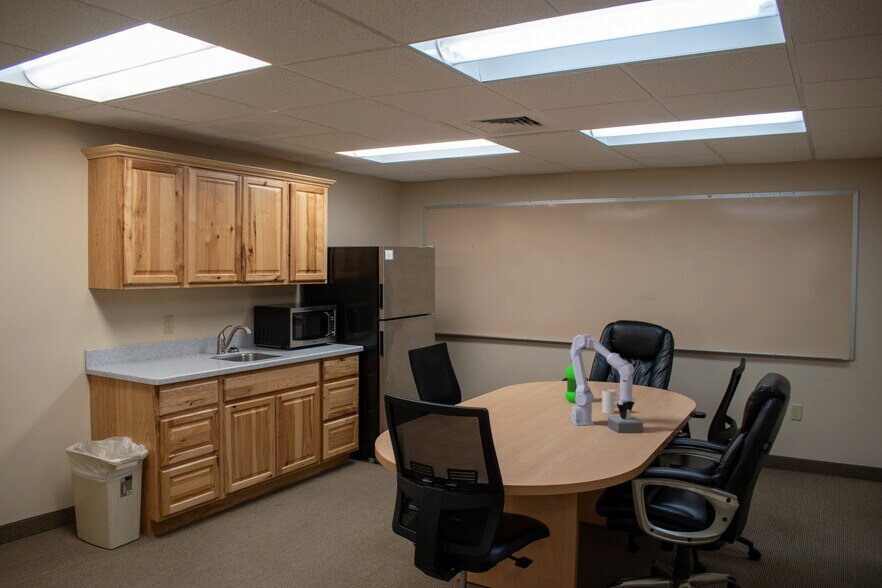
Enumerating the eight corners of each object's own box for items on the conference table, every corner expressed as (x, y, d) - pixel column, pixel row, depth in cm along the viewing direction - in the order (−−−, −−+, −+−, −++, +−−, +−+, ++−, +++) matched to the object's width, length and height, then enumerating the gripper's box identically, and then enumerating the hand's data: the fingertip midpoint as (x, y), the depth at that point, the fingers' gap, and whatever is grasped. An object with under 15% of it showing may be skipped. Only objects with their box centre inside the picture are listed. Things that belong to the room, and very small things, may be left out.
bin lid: (618, 423, 302) (618, 413, 302) (606, 417, 315) (606, 407, 315) (644, 423, 304) (644, 413, 304) (631, 416, 317) (632, 407, 317)
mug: (601, 413, 345) (602, 391, 344) (601, 411, 351) (601, 388, 351) (621, 414, 343) (622, 392, 342) (620, 412, 349) (621, 389, 349)
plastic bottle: (581, 400, 379) (582, 357, 378) (583, 404, 368) (584, 360, 367) (564, 400, 380) (565, 357, 379) (565, 403, 369) (566, 359, 368)
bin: (618, 433, 303) (618, 423, 303) (607, 426, 315) (608, 417, 315) (642, 432, 305) (642, 422, 305) (631, 426, 317) (631, 417, 317)
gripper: (628, 392, 301) (628, 421, 302) (639, 388, 313) (638, 416, 313) (614, 390, 305) (613, 419, 306) (625, 386, 317) (624, 414, 317)
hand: (625, 417), depth 310 cm, fingers closed on bin lid, 5 cm apart
